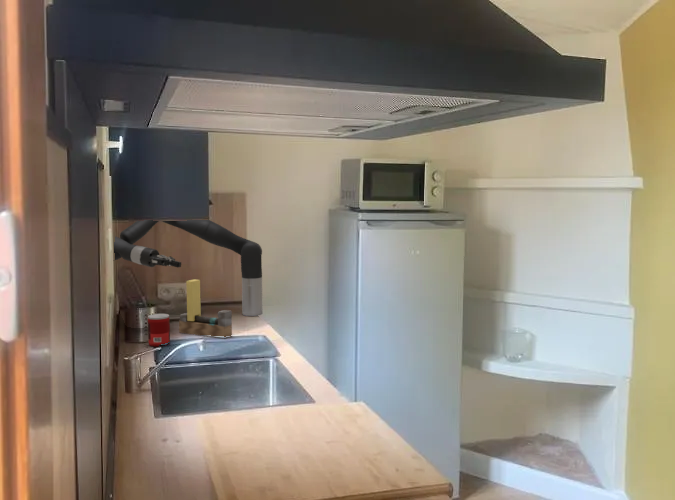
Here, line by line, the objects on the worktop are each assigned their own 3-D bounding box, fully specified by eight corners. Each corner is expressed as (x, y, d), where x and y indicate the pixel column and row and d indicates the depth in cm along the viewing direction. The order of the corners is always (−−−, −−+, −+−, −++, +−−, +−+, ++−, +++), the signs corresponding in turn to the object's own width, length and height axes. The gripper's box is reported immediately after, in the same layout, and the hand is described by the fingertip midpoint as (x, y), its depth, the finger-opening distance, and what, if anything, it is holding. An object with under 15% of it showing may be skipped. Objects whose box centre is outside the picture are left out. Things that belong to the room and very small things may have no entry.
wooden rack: (179, 332, 270) (178, 307, 269) (186, 330, 274) (185, 305, 273) (225, 338, 260) (224, 312, 258) (231, 336, 263) (231, 310, 262)
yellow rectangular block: (187, 320, 267) (186, 281, 265) (195, 318, 271) (194, 279, 270) (193, 321, 266) (192, 281, 264) (200, 319, 270) (199, 279, 268)
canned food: (174, 343, 252) (173, 315, 251) (155, 347, 246) (154, 318, 245) (163, 340, 257) (162, 312, 256) (144, 344, 251) (143, 315, 250)
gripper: (153, 263, 281) (187, 272, 275) (133, 266, 268) (169, 275, 263) (155, 246, 280) (190, 255, 274) (136, 248, 267) (172, 256, 262)
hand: (180, 264), depth 268 cm, fingers closed
